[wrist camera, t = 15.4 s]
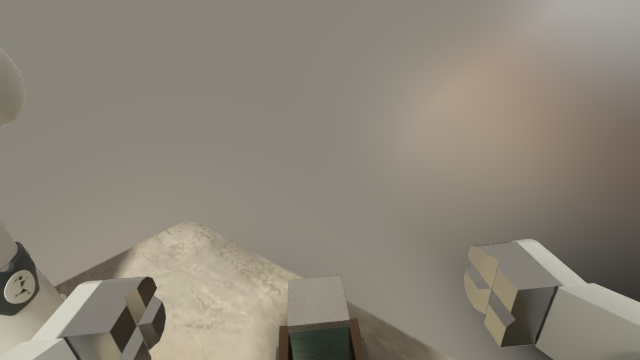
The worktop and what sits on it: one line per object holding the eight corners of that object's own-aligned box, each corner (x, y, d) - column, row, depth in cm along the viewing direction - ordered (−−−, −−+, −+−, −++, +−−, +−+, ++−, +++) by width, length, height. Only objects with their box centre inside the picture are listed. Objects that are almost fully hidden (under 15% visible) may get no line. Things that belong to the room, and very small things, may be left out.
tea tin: (299, 410, 30) (287, 326, 25) (298, 360, 35) (288, 280, 30) (351, 404, 31) (349, 319, 25) (343, 355, 35) (341, 275, 30)
